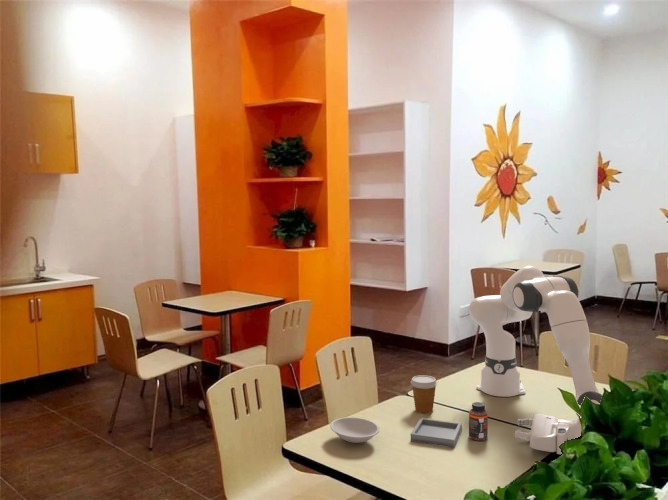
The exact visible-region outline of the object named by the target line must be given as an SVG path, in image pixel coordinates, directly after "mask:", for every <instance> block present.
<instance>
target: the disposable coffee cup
mask: <svg viewBox="0 0 668 500" xmlns="http://www.w3.org/2000/svg"><path fill="white" fill-rule="evenodd" d="M410 384H411V386H412V387H411V389H412V394H413V401H414V402H413V403H414V408H415V411H416V413H419V414H423V415H427V414H431V413H433V411H434V403H435V395H436V394H435V393H436V386H437V384H438V382H437V379H436V377H434V376H431V375H424V374H423V375H420V374H419V375H415V376H413V377H412V378H411V380H410Z"/></svg>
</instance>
